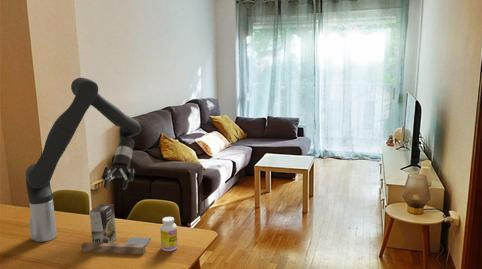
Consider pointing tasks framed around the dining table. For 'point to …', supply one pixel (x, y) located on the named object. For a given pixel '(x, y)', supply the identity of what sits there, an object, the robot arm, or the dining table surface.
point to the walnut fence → (113, 248)
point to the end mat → (138, 241)
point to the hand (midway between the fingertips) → (114, 188)
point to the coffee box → (103, 224)
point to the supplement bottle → (168, 234)
